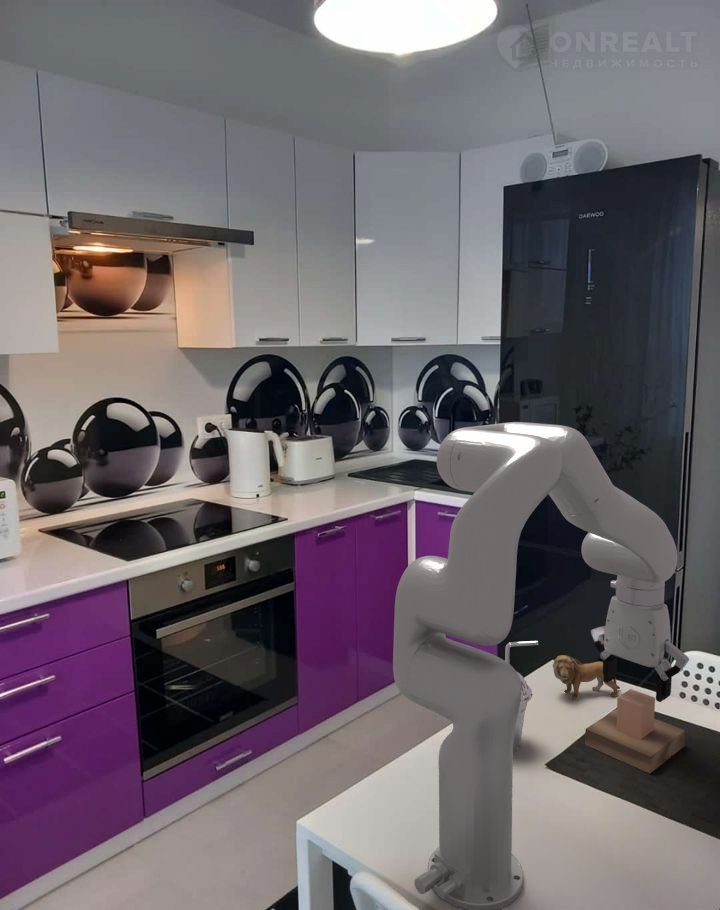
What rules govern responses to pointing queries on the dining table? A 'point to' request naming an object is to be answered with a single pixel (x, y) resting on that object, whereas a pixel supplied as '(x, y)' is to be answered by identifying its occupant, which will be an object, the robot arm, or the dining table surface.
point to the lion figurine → (580, 674)
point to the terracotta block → (635, 713)
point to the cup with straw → (525, 695)
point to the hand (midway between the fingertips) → (635, 689)
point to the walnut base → (635, 742)
